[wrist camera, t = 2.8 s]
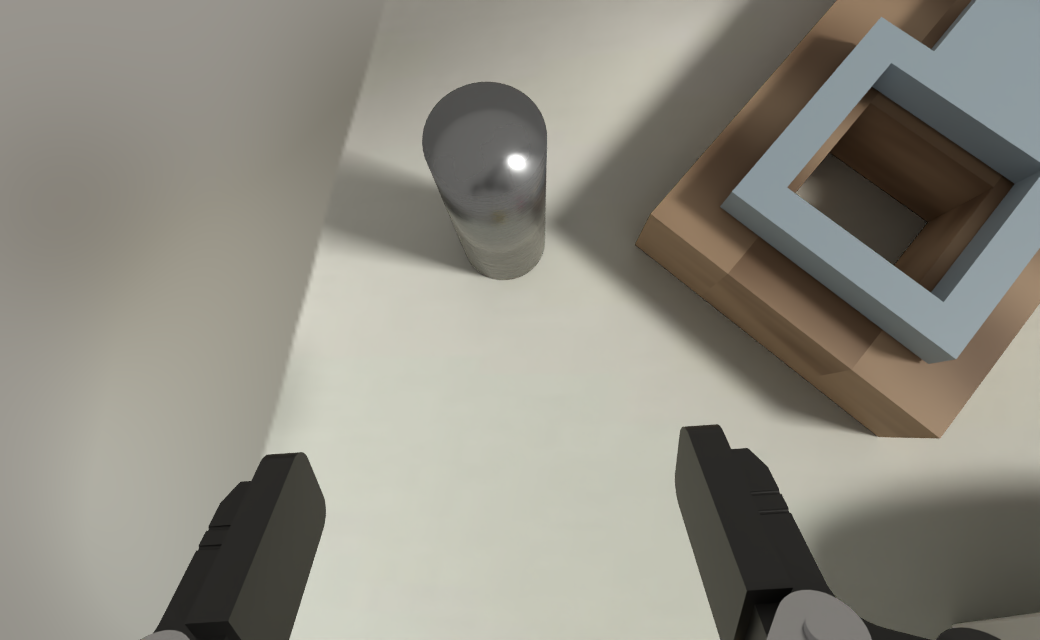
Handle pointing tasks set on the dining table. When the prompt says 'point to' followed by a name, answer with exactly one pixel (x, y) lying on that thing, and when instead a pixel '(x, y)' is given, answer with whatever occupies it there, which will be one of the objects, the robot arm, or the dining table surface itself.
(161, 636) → the robot arm
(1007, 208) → the link
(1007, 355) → the dining table surface
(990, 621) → the white game console
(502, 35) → the dining table surface
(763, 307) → the wooden block
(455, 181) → the pin
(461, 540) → the dining table surface
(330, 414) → the dining table surface
